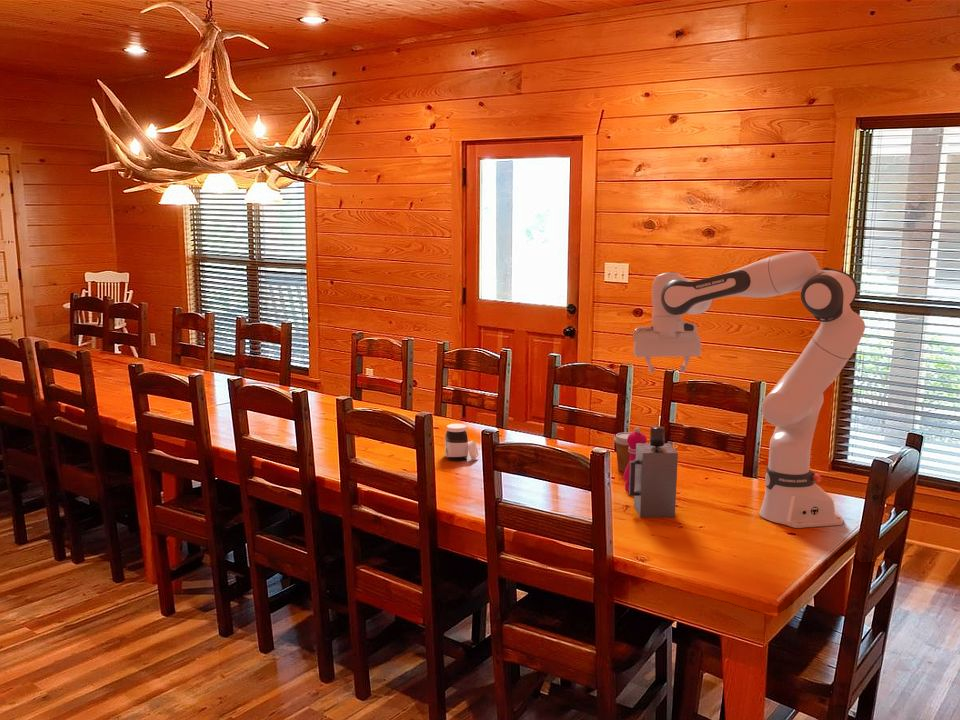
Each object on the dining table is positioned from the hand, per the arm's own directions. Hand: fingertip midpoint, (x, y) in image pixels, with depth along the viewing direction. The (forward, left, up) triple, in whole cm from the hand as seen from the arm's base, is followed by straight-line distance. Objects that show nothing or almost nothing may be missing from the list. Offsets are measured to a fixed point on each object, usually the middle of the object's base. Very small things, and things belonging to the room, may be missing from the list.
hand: (667, 371), depth 265 cm
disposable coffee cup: (+7, -23, -38) cm, 45 cm away
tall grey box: (+7, +17, -38) cm, 42 cm away
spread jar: (+63, -36, -39) cm, 82 cm away
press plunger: (+6, +17, -30) cm, 35 cm away
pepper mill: (+8, -3, -38) cm, 39 cm away
